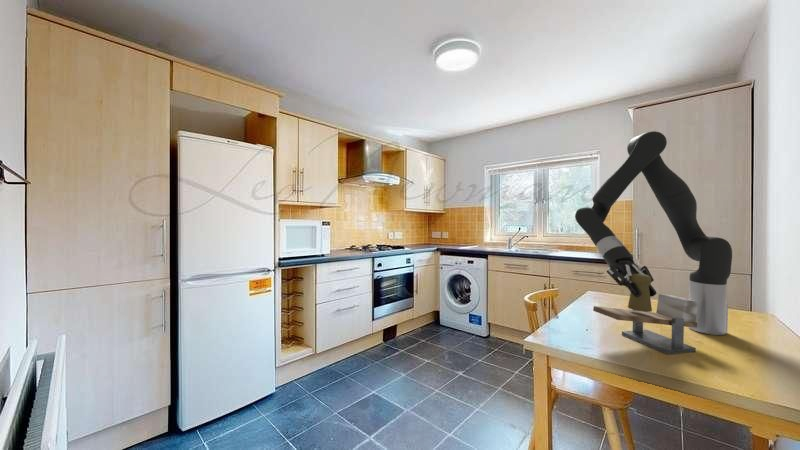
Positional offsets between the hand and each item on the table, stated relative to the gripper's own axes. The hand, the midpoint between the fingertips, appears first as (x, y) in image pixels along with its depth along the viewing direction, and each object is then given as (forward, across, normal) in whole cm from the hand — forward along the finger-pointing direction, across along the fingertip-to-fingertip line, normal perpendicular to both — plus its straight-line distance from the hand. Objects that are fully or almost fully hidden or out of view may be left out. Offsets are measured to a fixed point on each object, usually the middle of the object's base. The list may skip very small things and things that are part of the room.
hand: (646, 295), depth 93 cm
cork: (+2, 0, +5) cm, 5 cm away
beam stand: (+10, +6, +12) cm, 17 cm away
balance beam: (+4, +1, +7) cm, 8 cm away
